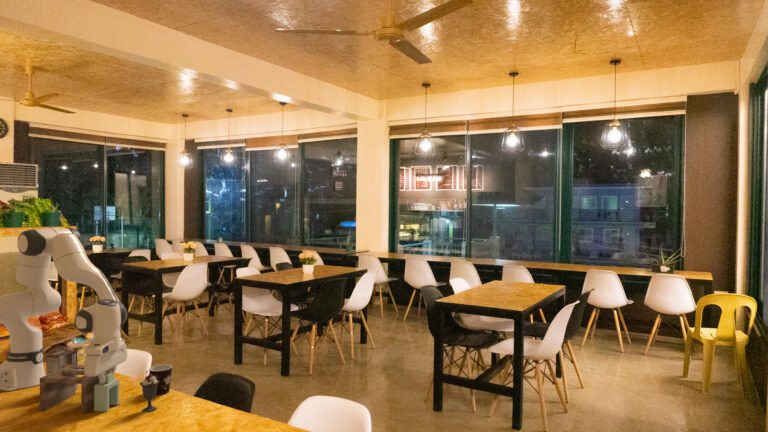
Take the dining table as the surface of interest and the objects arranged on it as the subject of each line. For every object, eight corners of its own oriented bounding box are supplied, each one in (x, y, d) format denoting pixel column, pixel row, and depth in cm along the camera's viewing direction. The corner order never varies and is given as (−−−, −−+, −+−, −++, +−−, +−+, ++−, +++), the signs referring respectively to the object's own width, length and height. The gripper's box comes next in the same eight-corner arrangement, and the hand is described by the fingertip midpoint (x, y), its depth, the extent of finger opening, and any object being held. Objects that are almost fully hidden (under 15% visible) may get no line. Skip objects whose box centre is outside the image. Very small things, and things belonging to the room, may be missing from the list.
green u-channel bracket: (94, 411, 180) (94, 377, 180) (106, 403, 187) (106, 370, 187) (107, 411, 180) (107, 377, 179) (118, 404, 187) (119, 371, 186)
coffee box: (65, 387, 203) (65, 348, 203) (78, 388, 202) (78, 350, 202) (45, 395, 194) (45, 355, 194) (59, 397, 193) (59, 356, 193)
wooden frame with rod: (39, 410, 180) (39, 375, 180) (70, 394, 196) (70, 362, 196) (86, 412, 179) (86, 377, 178) (113, 396, 195) (113, 363, 194)
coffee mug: (167, 386, 206) (167, 362, 205) (175, 392, 199) (175, 367, 199) (137, 393, 197) (138, 369, 197) (145, 399, 191) (145, 374, 191)
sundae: (139, 414, 178) (140, 373, 177) (139, 407, 184) (139, 368, 183) (159, 411, 181) (160, 370, 180) (158, 404, 187) (159, 365, 186)
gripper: (116, 336, 194) (116, 371, 194) (80, 351, 173) (80, 390, 173) (131, 336, 193) (131, 371, 193) (97, 351, 173) (97, 390, 173)
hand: (106, 380), depth 183 cm, fingers closed on green u-channel bracket, 3 cm apart
